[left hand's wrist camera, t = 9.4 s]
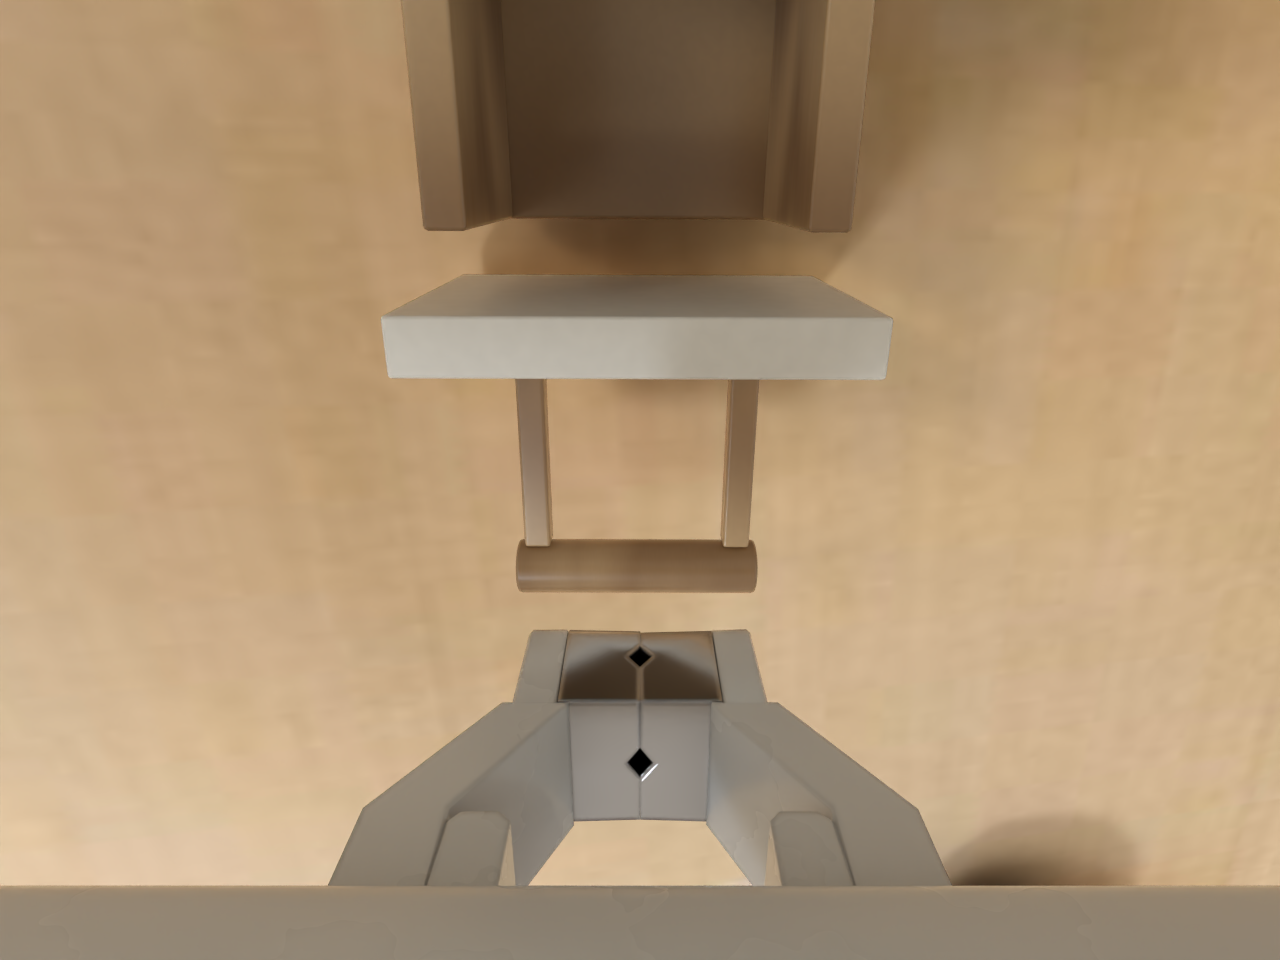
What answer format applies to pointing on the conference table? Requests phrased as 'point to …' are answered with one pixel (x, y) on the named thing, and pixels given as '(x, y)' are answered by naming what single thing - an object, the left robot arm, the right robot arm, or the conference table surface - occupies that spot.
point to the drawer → (637, 189)
